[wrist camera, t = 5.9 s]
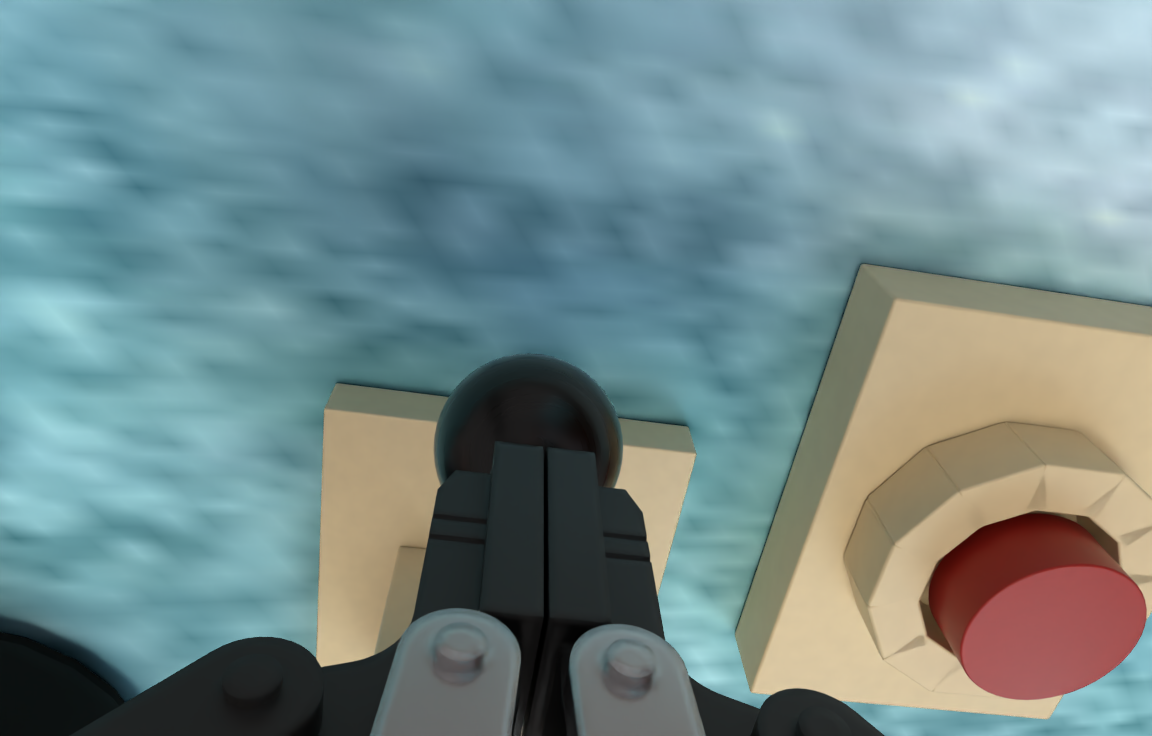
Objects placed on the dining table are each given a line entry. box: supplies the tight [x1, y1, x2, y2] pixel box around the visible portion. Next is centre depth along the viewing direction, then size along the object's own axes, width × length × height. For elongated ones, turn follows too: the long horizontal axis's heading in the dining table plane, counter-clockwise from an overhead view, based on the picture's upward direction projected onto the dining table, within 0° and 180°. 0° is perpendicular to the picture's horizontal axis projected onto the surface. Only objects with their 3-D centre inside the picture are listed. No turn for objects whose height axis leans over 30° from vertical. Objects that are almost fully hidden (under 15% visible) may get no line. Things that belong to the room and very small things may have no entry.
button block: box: [735, 264, 1152, 719], centre depth 21 cm, size 12×9×4 cm
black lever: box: [434, 354, 623, 736], centre depth 14 cm, size 13×3×3 cm, turn 171°
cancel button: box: [928, 513, 1147, 700], centre depth 19 cm, size 4×4×2 cm
